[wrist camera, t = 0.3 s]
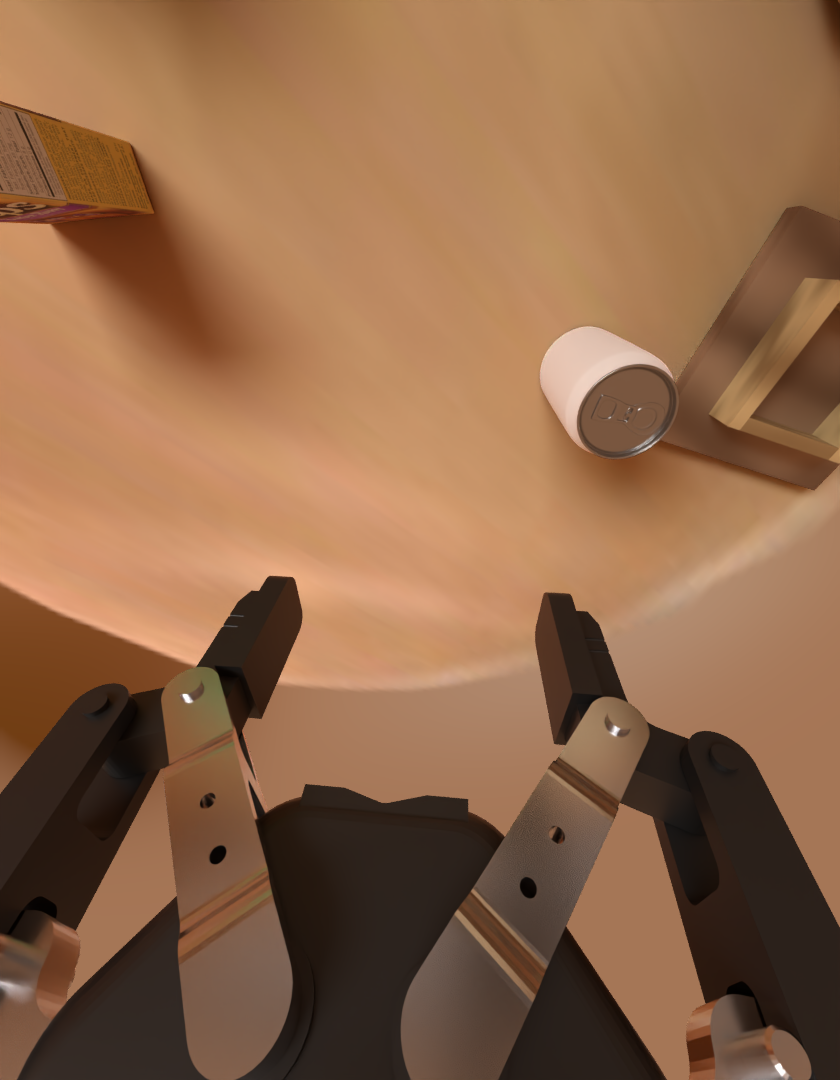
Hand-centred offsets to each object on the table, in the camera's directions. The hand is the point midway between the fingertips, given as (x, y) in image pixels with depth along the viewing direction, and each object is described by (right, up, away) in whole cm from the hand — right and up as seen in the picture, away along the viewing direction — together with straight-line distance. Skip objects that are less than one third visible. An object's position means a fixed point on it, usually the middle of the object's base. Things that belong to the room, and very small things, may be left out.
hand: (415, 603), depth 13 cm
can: (+13, +16, +21) cm, 30 cm away
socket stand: (+30, +16, +19) cm, 39 cm away
